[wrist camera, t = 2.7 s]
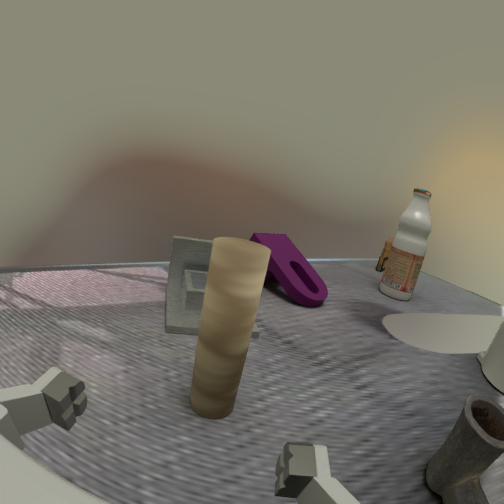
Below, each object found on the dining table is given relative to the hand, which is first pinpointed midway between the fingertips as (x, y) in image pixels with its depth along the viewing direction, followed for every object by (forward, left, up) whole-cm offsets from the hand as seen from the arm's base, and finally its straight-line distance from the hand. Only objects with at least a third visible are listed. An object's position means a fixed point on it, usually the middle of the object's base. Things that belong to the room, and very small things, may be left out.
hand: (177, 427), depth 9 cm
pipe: (-21, +6, -11) cm, 24 cm away
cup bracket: (-6, -30, -10) cm, 32 cm away
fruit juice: (-56, -44, -11) cm, 72 cm away
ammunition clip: (-72, -68, -11) cm, 100 cm away
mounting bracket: (-23, -42, -11) cm, 50 cm away
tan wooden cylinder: (-4, -12, -11) cm, 16 cm away
